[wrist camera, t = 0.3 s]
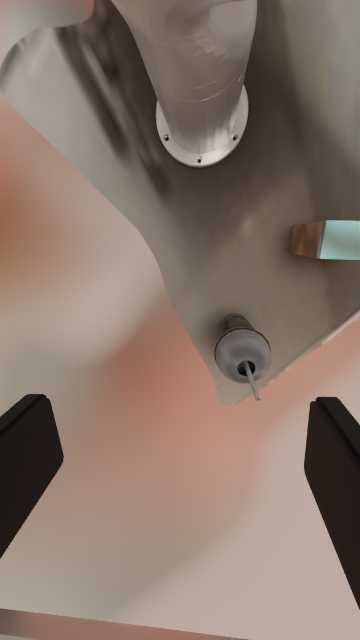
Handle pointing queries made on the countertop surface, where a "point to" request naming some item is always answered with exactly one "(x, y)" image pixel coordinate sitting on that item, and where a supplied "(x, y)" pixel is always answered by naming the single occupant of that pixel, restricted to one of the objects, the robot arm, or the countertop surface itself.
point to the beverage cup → (242, 352)
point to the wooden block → (327, 240)
